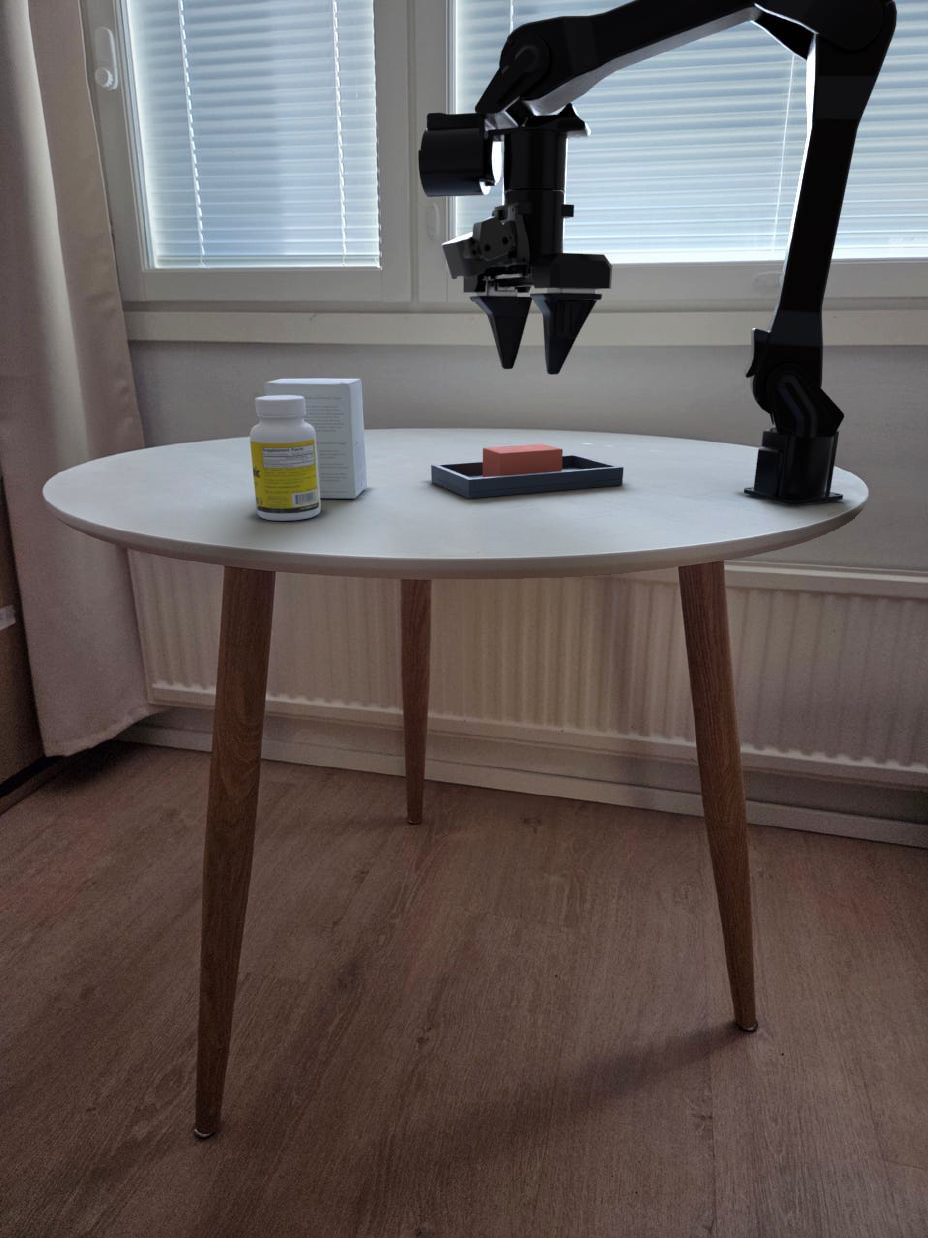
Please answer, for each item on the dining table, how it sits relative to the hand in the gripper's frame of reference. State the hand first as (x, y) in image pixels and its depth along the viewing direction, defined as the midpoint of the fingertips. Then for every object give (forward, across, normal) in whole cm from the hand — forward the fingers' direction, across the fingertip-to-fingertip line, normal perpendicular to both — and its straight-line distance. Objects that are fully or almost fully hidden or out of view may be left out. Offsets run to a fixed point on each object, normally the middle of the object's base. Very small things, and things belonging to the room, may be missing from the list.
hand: (529, 371), depth 82 cm
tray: (+11, 0, 0) cm, 11 cm away
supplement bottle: (+11, +4, -26) cm, 28 cm away
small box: (+11, -4, -20) cm, 24 cm away
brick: (+10, 0, 0) cm, 10 cm away
